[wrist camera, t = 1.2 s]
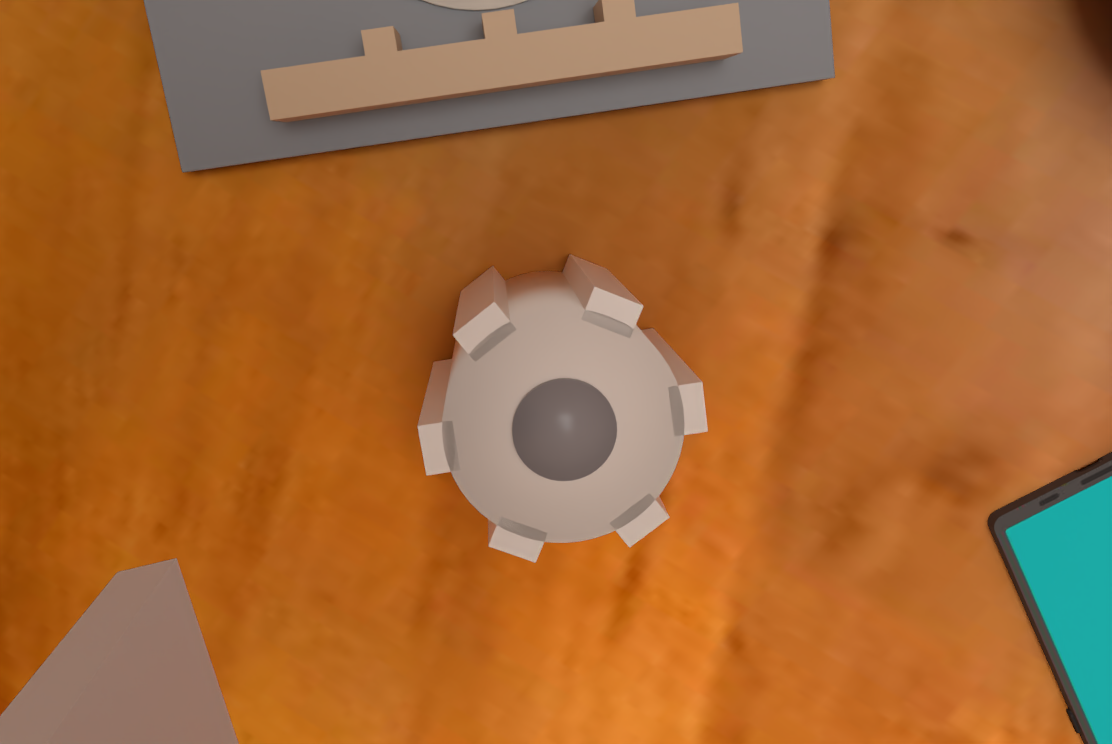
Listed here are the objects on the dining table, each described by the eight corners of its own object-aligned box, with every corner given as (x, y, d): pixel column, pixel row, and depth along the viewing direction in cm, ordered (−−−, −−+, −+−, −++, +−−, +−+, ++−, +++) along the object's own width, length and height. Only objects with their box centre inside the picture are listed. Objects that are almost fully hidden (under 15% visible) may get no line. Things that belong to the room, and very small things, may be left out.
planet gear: (454, 480, 30) (444, 581, 23) (418, 276, 29) (396, 318, 22) (667, 447, 30) (721, 536, 23) (642, 242, 29) (692, 272, 22)
